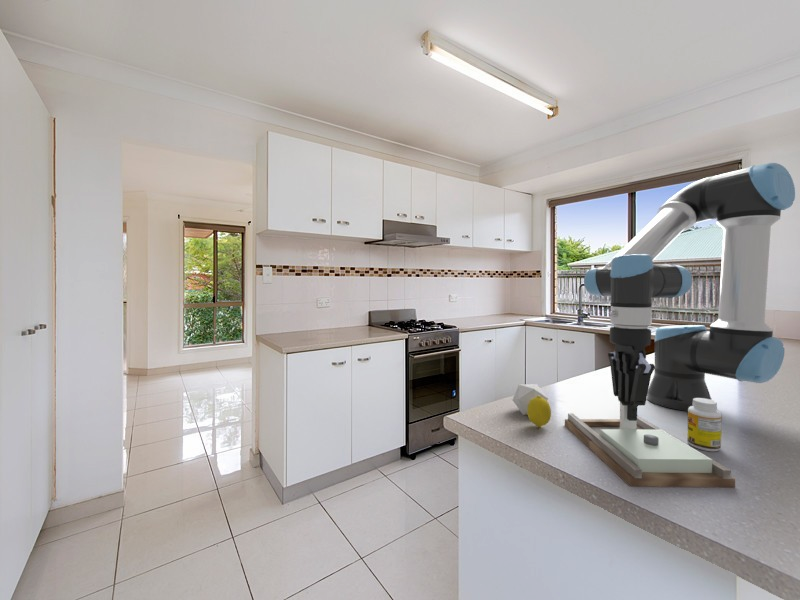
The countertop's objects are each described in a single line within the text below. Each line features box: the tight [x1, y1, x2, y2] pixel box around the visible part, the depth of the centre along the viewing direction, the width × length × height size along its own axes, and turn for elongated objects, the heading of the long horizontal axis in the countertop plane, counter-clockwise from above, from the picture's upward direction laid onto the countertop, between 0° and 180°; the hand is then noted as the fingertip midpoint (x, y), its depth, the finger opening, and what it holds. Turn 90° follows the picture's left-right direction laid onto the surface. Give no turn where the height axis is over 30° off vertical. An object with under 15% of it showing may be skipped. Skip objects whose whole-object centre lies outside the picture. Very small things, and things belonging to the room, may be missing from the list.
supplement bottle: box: [686, 398, 723, 452], centre depth 76 cm, size 6×6×10 cm
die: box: [512, 383, 549, 416], centre depth 98 cm, size 8×9×10 cm
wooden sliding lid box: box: [564, 412, 736, 488], centre depth 75 cm, size 18×27×3 cm, turn 178°
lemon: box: [527, 396, 552, 428], centre depth 88 cm, size 6×6×8 cm
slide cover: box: [600, 428, 713, 473], centre depth 70 cm, size 13×13×4 cm
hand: (627, 432), depth 77 cm, fingers closed
